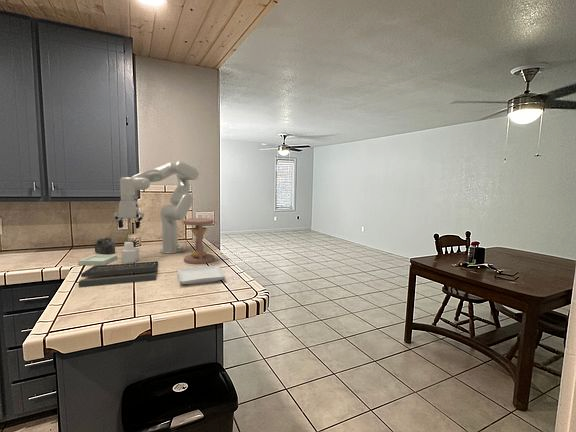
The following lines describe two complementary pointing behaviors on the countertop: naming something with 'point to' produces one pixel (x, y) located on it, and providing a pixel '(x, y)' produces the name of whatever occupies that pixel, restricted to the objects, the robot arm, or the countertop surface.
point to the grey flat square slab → (200, 274)
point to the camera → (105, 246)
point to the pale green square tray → (97, 260)
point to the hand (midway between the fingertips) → (129, 228)
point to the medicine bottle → (130, 252)
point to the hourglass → (198, 241)
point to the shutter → (119, 270)
